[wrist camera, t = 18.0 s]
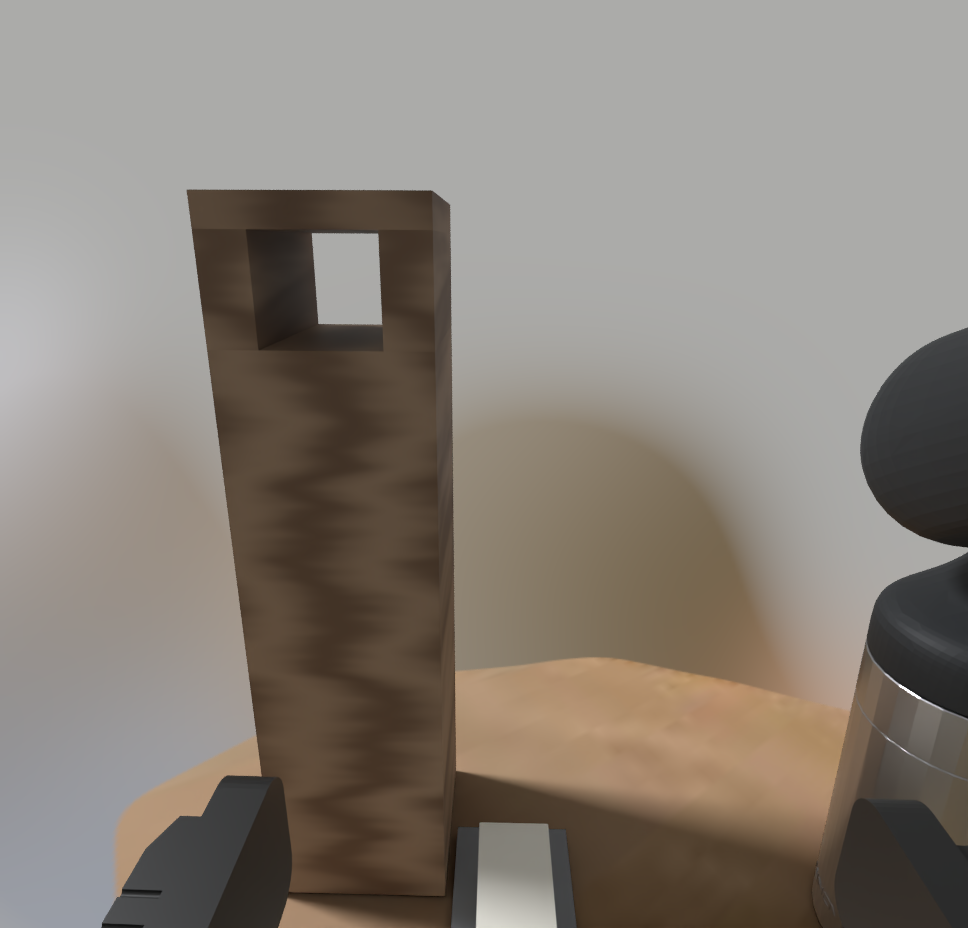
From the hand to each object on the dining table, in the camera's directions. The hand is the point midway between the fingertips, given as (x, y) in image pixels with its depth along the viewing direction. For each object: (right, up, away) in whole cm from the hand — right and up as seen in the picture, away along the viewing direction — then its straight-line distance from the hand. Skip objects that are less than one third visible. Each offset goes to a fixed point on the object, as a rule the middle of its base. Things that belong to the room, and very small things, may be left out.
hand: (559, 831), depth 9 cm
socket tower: (-8, -19, +34) cm, 40 cm away
